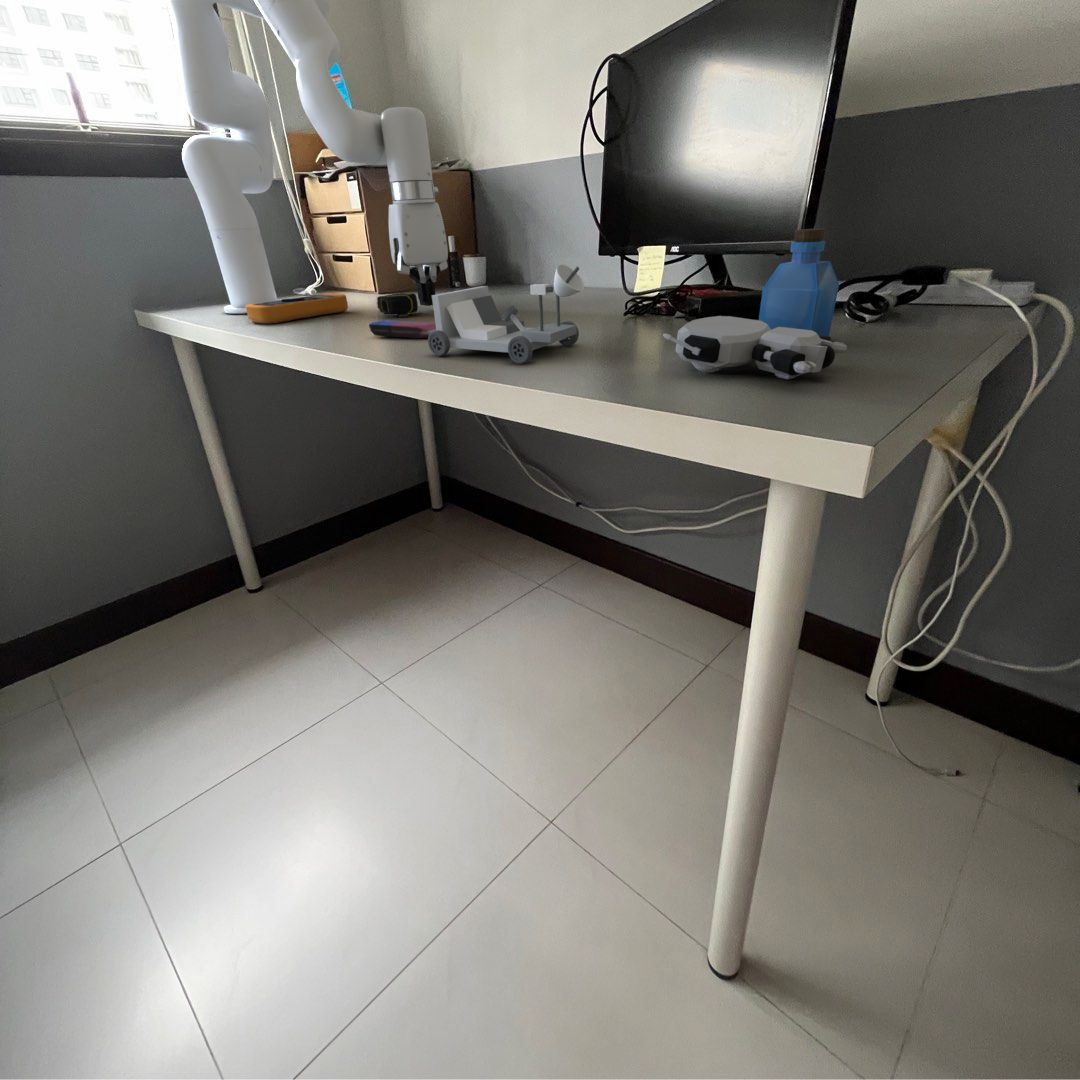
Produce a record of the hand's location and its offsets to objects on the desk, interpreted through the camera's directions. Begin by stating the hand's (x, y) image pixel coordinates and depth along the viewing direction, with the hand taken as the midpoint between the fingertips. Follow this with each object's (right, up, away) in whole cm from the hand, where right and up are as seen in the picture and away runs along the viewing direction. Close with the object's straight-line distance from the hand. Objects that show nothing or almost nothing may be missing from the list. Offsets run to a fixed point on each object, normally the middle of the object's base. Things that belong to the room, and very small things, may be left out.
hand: (428, 304), depth 110 cm
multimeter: (-25, -2, +1) cm, 25 cm away
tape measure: (-5, -4, -4) cm, 7 cm away
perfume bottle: (+52, -22, -41) cm, 70 cm away
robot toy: (+43, -29, -53) cm, 74 cm away
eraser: (+1, -15, -24) cm, 28 cm away
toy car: (+18, -22, -38) cm, 48 cm away
